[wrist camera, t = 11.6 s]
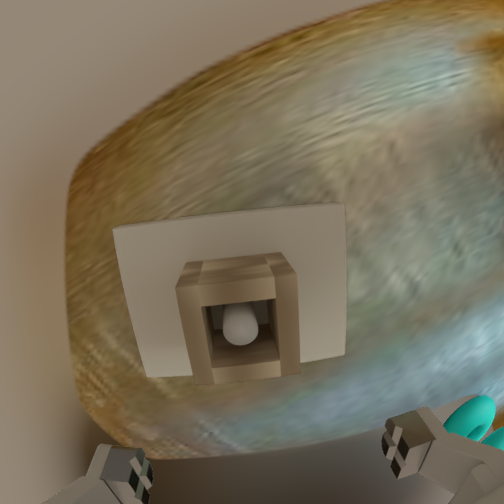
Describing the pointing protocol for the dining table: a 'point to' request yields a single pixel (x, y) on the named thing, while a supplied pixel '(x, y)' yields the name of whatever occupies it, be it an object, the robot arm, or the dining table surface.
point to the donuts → (476, 421)
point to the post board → (226, 246)
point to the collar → (235, 291)
